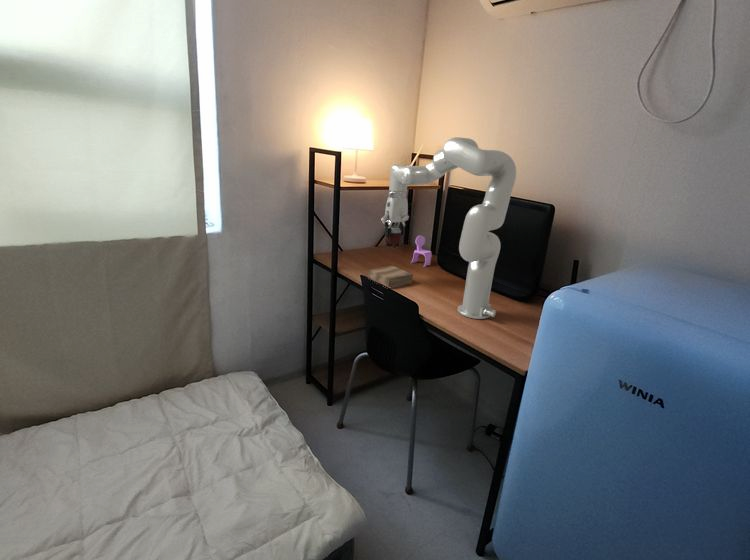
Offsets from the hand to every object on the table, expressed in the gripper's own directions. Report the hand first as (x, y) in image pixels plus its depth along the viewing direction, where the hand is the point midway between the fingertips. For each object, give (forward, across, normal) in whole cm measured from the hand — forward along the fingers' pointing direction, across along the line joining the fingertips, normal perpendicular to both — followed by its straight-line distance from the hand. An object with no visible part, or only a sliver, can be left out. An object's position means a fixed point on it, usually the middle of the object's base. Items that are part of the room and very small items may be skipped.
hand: (394, 235), depth 180 cm
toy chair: (+22, +34, +11) cm, 42 cm away
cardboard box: (+22, 0, 0) cm, 22 cm away
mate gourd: (+5, 0, 0) cm, 5 cm away
